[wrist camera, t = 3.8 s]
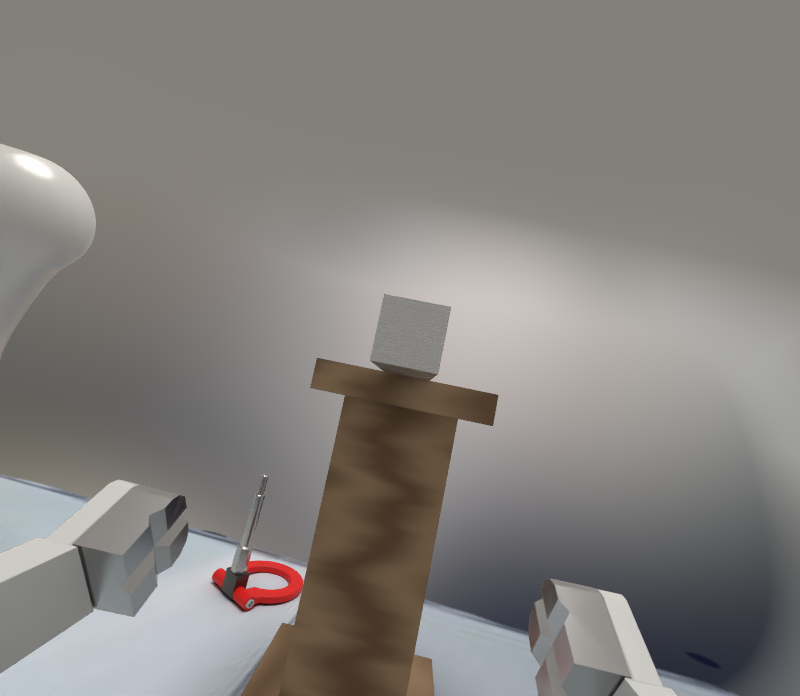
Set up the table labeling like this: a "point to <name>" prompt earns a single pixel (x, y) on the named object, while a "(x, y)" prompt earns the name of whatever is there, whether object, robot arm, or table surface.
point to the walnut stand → (372, 539)
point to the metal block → (410, 337)
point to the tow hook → (255, 566)
